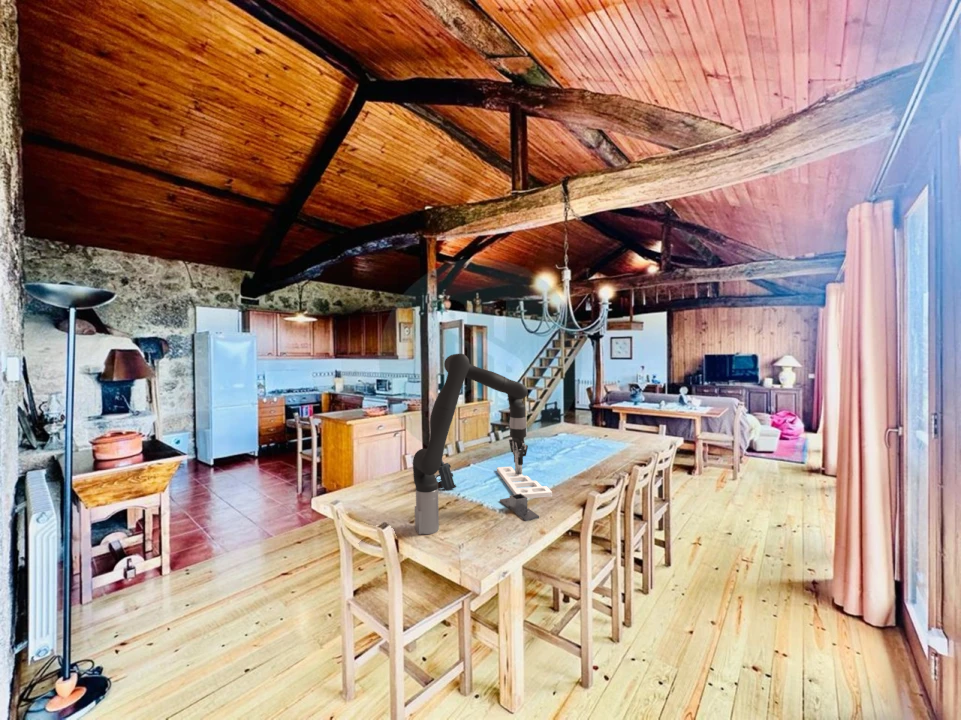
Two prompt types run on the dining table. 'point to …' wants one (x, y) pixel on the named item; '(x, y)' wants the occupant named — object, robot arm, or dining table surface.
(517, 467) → the pin
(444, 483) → the gun
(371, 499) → the dining table surface
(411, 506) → the dining table surface
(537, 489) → the holder
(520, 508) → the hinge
